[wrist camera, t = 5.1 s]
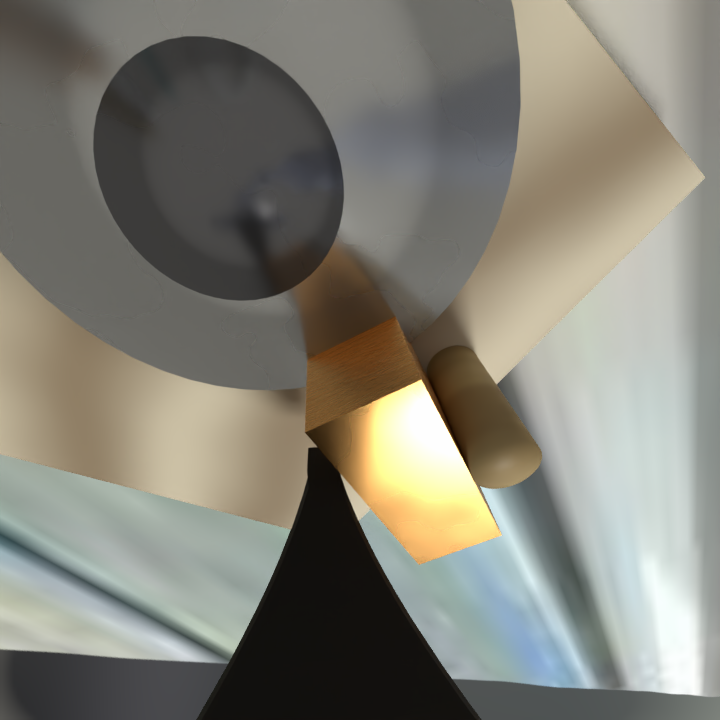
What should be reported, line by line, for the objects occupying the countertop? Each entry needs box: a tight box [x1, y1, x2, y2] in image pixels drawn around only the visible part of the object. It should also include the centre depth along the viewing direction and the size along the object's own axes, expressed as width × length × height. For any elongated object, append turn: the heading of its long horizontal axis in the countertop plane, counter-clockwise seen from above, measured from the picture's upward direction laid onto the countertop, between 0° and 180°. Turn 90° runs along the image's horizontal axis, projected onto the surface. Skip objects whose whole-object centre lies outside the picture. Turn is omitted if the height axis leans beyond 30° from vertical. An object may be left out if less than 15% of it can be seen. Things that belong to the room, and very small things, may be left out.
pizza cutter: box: [0, 0, 521, 564], centre depth 7 cm, size 15×10×4 cm, turn 27°
